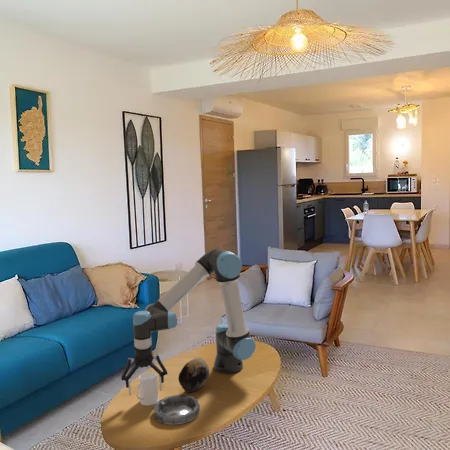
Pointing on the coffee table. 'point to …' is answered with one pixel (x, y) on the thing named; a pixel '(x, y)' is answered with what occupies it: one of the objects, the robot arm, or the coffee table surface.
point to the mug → (148, 389)
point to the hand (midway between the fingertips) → (145, 391)
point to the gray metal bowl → (176, 409)
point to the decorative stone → (194, 374)
